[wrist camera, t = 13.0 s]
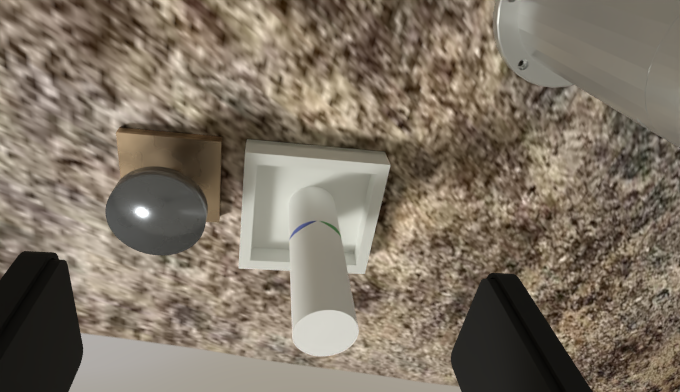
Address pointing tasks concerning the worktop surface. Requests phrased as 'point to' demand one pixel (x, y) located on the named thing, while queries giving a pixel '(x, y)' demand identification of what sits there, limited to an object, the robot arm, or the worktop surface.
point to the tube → (319, 276)
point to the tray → (299, 172)
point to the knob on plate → (165, 189)
